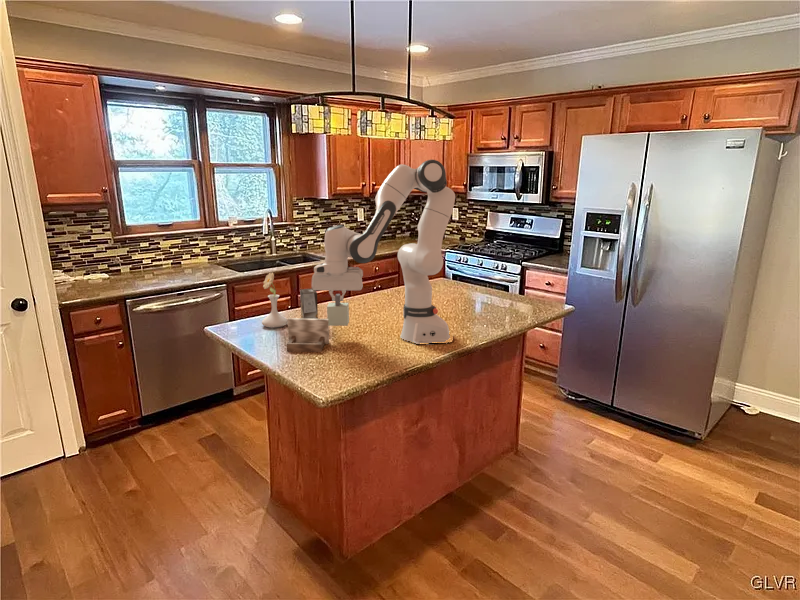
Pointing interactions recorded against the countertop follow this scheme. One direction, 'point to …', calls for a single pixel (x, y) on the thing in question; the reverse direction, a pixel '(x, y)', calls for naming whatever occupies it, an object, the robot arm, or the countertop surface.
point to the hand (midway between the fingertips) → (337, 300)
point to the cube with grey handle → (338, 313)
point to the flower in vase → (273, 306)
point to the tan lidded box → (307, 334)
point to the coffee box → (309, 304)
